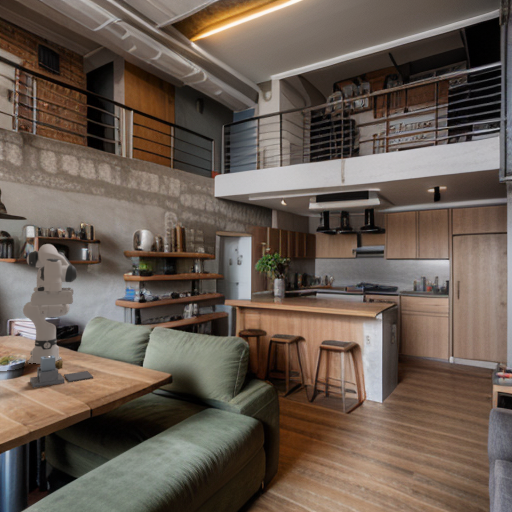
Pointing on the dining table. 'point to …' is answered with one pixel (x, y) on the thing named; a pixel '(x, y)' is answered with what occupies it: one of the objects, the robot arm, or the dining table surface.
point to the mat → (78, 376)
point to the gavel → (59, 364)
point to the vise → (46, 377)
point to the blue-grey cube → (47, 363)
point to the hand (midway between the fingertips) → (51, 313)
